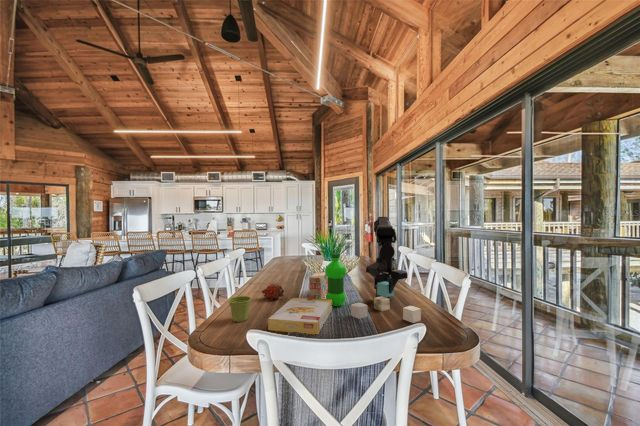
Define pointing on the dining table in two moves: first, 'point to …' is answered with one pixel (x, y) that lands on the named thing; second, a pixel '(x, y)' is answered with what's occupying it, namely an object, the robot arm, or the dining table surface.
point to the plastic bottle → (335, 280)
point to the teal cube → (384, 289)
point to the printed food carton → (318, 285)
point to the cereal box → (301, 315)
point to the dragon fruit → (273, 291)
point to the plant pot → (239, 308)
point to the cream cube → (412, 314)
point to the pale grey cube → (359, 310)
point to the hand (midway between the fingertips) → (385, 292)
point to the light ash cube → (381, 303)
